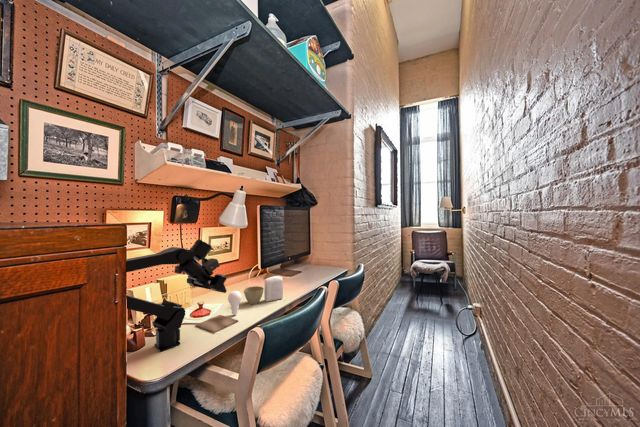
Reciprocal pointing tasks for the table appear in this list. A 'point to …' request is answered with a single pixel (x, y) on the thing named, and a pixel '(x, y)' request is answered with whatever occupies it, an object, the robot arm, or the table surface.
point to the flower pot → (253, 294)
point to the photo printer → (273, 288)
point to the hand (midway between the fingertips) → (218, 290)
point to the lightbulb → (234, 301)
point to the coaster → (216, 323)
